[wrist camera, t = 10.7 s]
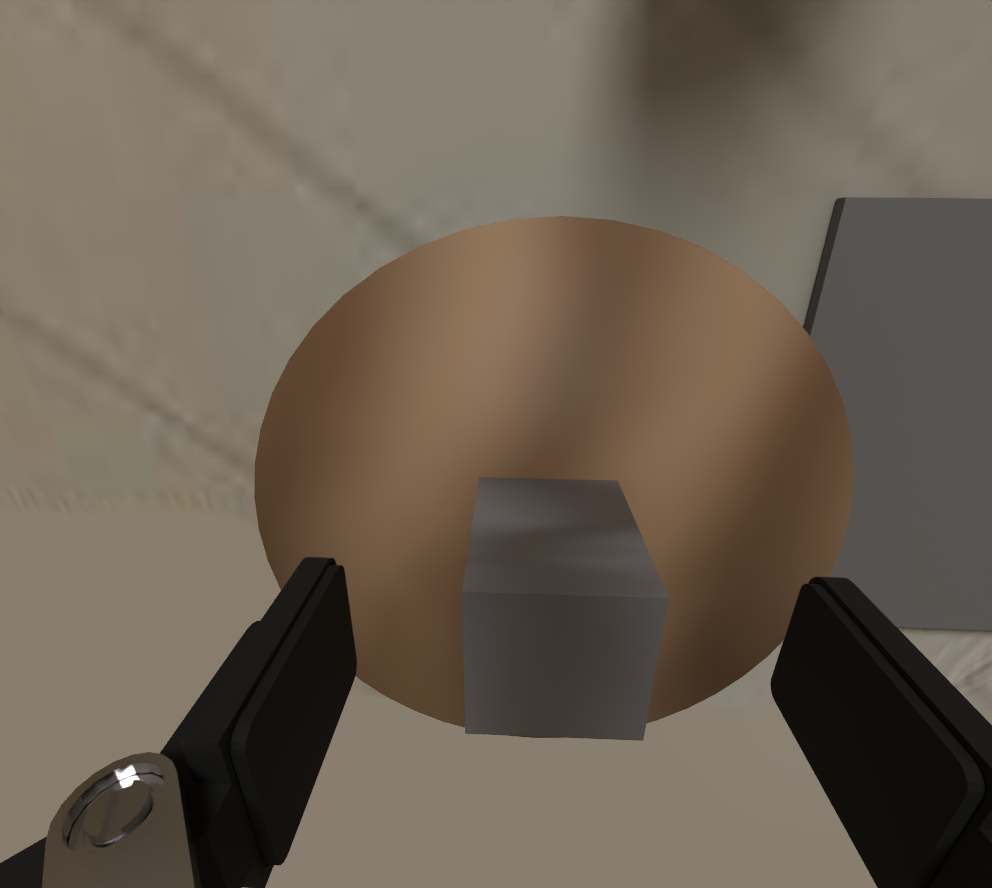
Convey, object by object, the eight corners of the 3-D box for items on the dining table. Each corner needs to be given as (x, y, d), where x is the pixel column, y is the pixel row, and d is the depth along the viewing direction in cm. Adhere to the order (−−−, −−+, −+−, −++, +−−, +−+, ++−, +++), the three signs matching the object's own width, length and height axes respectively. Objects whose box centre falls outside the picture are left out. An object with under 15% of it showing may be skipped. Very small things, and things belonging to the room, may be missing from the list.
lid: (914, 220, 11) (1265, 198, 6) (760, 719, 17) (864, 922, 12) (218, 216, 11) (-22, 193, 6) (312, 702, 17) (230, 890, 12)
